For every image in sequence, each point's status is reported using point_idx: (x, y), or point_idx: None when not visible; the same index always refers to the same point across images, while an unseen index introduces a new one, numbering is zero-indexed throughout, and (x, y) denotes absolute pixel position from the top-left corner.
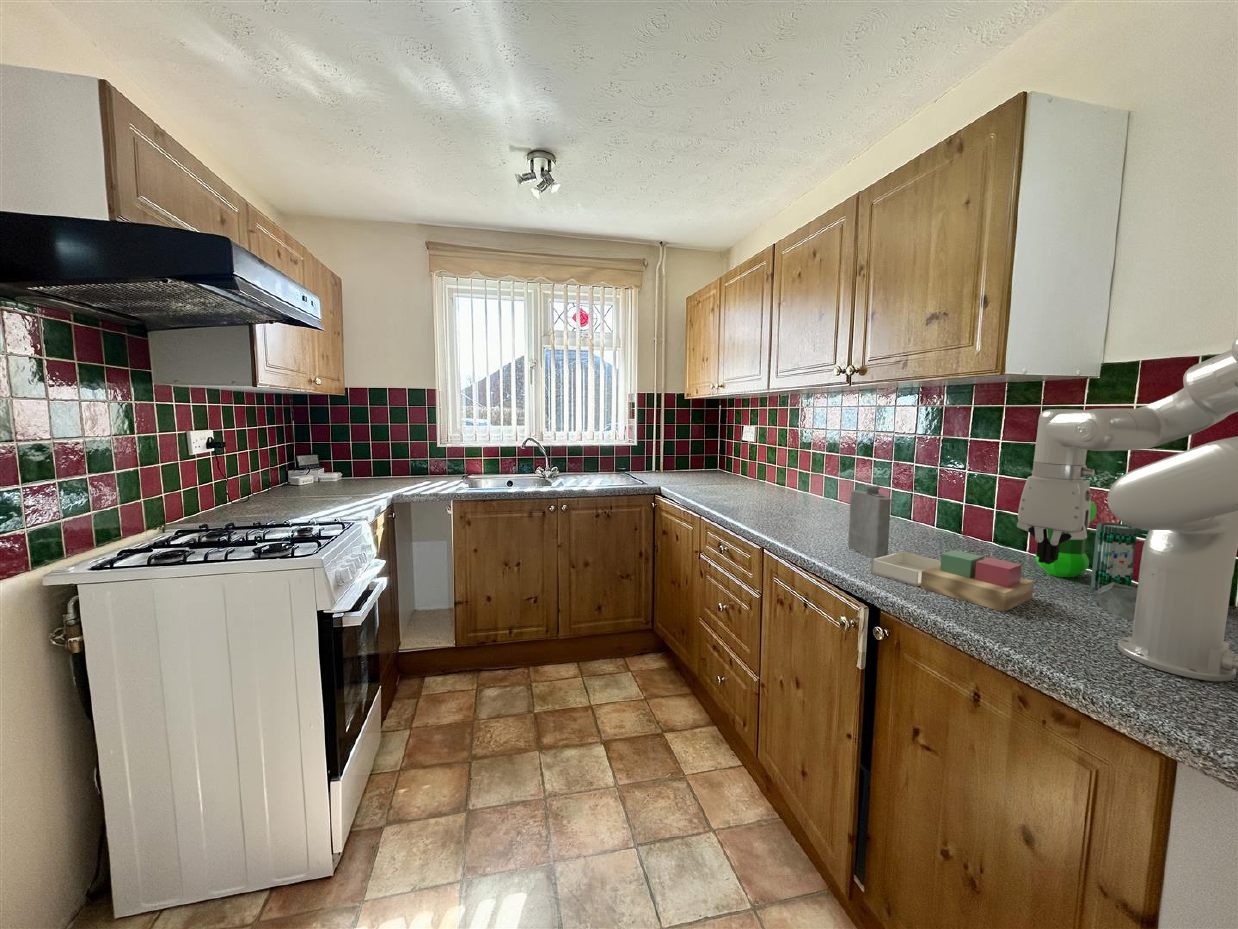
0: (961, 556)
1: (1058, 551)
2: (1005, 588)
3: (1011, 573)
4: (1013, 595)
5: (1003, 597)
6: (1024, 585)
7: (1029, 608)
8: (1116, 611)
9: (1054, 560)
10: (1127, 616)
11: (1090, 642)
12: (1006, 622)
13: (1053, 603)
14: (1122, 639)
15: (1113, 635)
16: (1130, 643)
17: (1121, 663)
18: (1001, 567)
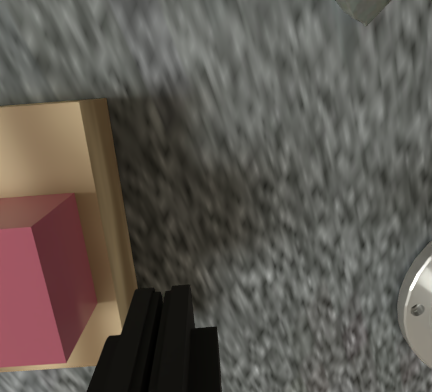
0: None
1: (219, 374)
2: (98, 317)
3: (70, 320)
4: (122, 283)
5: None
6: (99, 203)
7: (157, 216)
8: (344, 3)
9: (190, 291)
10: (374, 6)
11: (347, 332)
12: None
13: (168, 79)
14: (410, 306)
15: (372, 233)
16: (428, 318)
17: (414, 389)
18: (31, 363)
